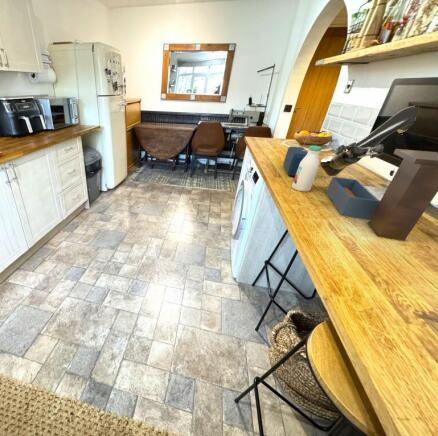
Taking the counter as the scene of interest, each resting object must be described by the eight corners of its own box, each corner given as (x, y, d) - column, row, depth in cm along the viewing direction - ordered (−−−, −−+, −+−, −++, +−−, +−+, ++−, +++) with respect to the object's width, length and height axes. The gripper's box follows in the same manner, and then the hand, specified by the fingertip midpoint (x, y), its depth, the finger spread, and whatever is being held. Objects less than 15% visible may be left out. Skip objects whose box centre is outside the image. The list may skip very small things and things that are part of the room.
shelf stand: (391, 223, 87) (435, 152, 74) (410, 242, 77) (465, 163, 64) (359, 218, 90) (395, 148, 77) (372, 235, 80) (417, 159, 67)
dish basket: (349, 195, 108) (356, 179, 104) (370, 219, 89) (380, 201, 86) (325, 192, 111) (332, 176, 107) (341, 215, 92) (349, 197, 88)
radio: (305, 179, 126) (320, 140, 116) (287, 177, 128) (299, 138, 118) (297, 167, 143) (309, 132, 133) (281, 165, 145) (292, 131, 135)
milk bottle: (313, 189, 114) (329, 147, 104) (304, 193, 110) (321, 149, 100) (296, 184, 119) (310, 143, 109) (288, 187, 115) (302, 145, 105)
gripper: (330, 147, 109) (348, 134, 94) (368, 150, 105) (393, 137, 90) (327, 163, 110) (344, 153, 94) (364, 167, 105) (389, 157, 90)
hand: (368, 145), depth 92 cm, fingers open, 8 cm apart
